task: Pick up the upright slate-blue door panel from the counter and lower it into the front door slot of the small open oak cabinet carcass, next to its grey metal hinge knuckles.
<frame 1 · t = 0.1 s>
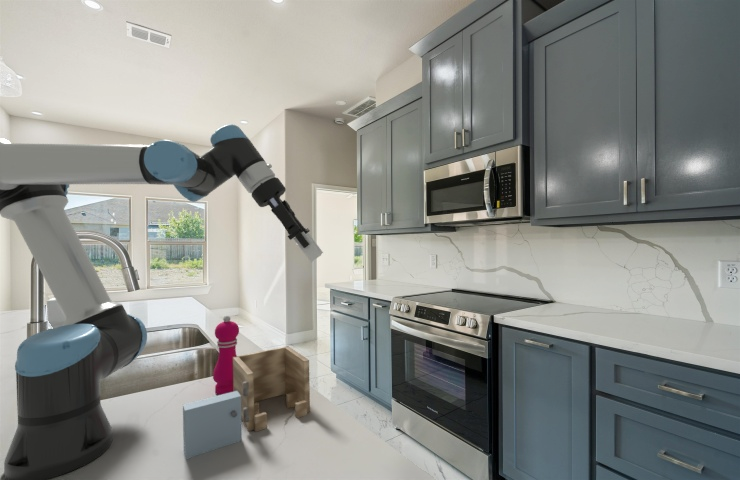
hand: (317, 257, 83), 36 cm above the counter, tool tilted 35°, fingers open, 13 cm apart
pepper mill: (228, 391, 93), on the counter
cabinet: (271, 409, 82), on the counter
supplement box: (63, 331, 157), on the counter
door: (213, 445, 68), on the counter
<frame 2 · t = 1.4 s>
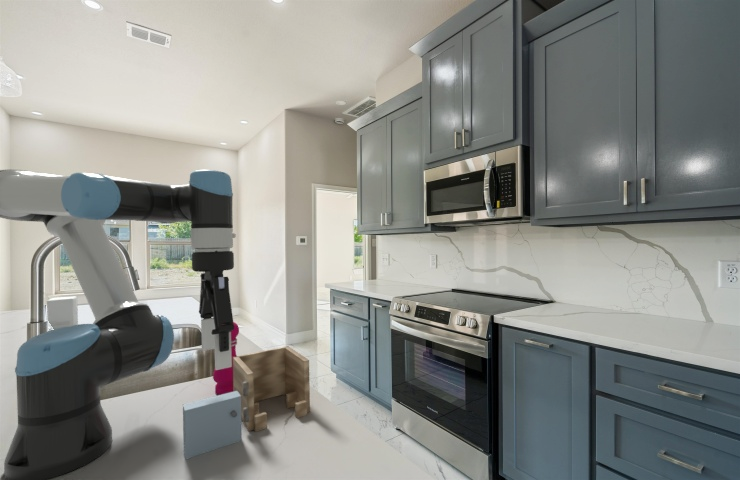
hand: (215, 358, 68), 17 cm above the counter, tool pointing down, fingers open, 13 cm apart
nothing on the counter moved.
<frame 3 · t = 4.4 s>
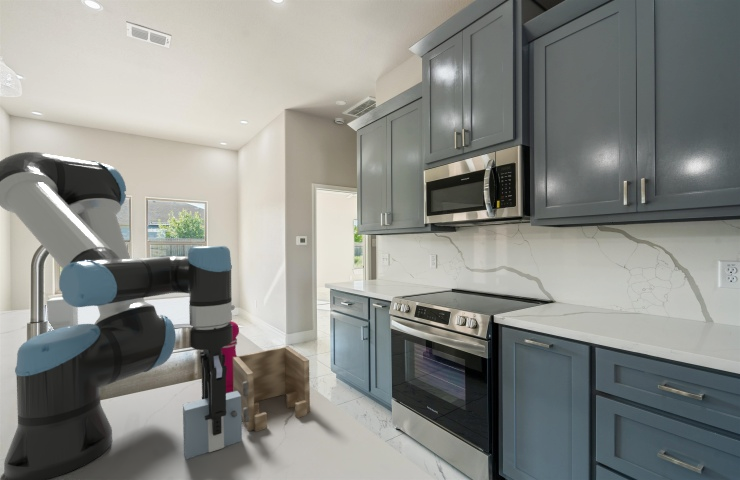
hand: (214, 444, 68), 0 cm above the counter, tool pointing down, fingers closed on door, 3 cm apart
door: (213, 445, 68), on the counter, touching gripper
everything else where it was.
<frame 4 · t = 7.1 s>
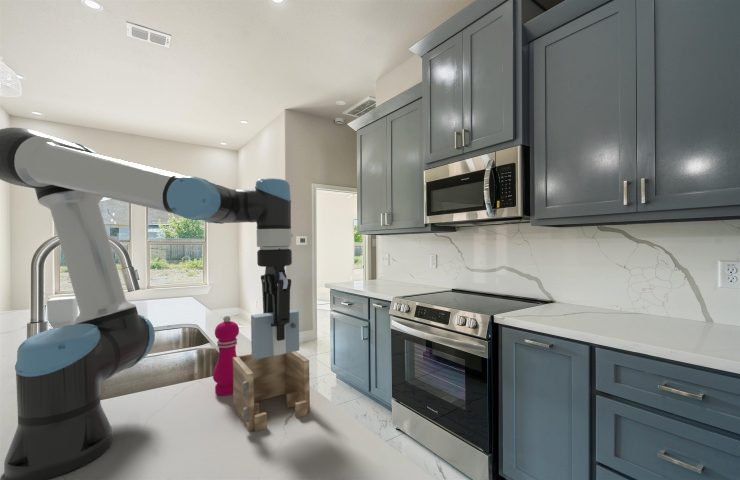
hand: (276, 351, 78), 15 cm above the counter, tool pointing down, fingers closed on door, 3 cm apart
door: (275, 353, 78), point 15 cm above the counter, touching gripper
everything else where it was.
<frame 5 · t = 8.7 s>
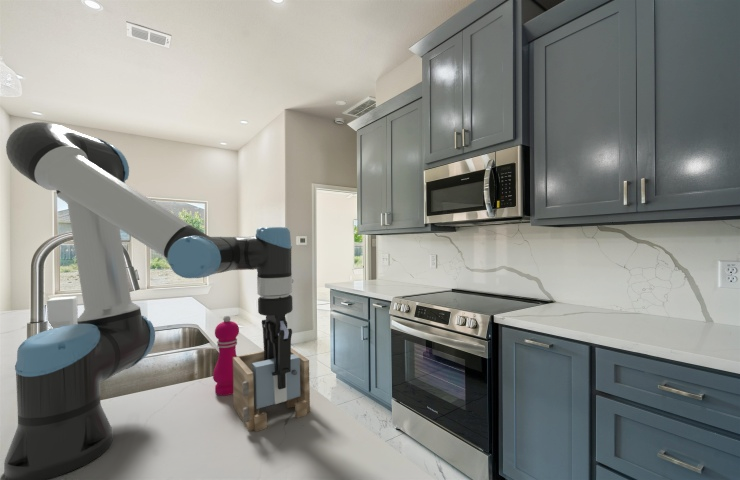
hand: (277, 398, 78), 4 cm above the counter, tool pointing down, fingers closed on door, 3 cm apart
door: (277, 399, 78), point 4 cm above the counter, touching gripper
everything else where it was.
when the fingers open (2 cm above the counter, at t = 9.8 s): door drops 2 cm, resting in cabinet.
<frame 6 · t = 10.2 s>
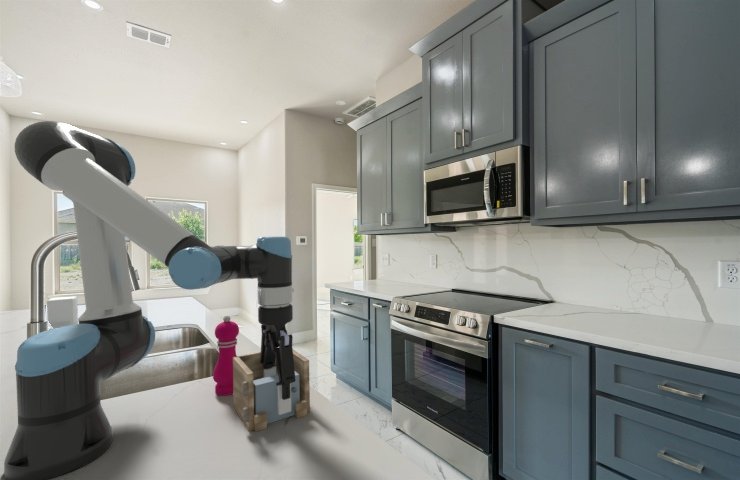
hand: (277, 403, 78), 3 cm above the counter, tool pointing down, fingers open, 9 cm apart
door: (276, 417, 78), resting in cabinet
everything else where it was.
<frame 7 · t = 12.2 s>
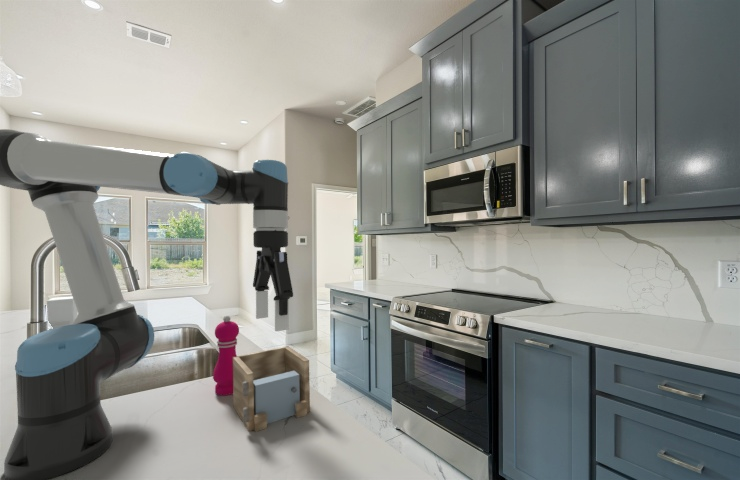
hand: (271, 323, 78), 21 cm above the counter, tool pointing down, fingers open, 13 cm apart
nothing on the counter moved.
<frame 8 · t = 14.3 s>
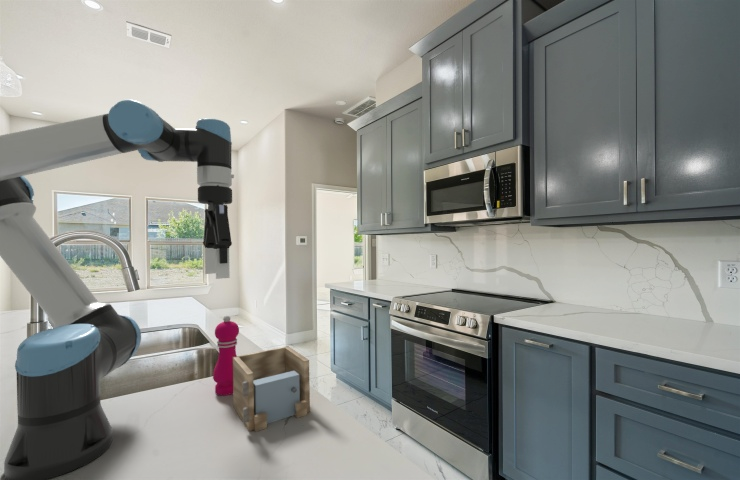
hand: (216, 275, 83), 32 cm above the counter, tool pointing down, fingers open, 13 cm apart
nothing on the counter moved.
at the end: door 0.2 cm from the target spot on the cabinet, point 0.0 cm above the cabinet's base; door tilted 0°; the gripper is holding nothing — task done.
